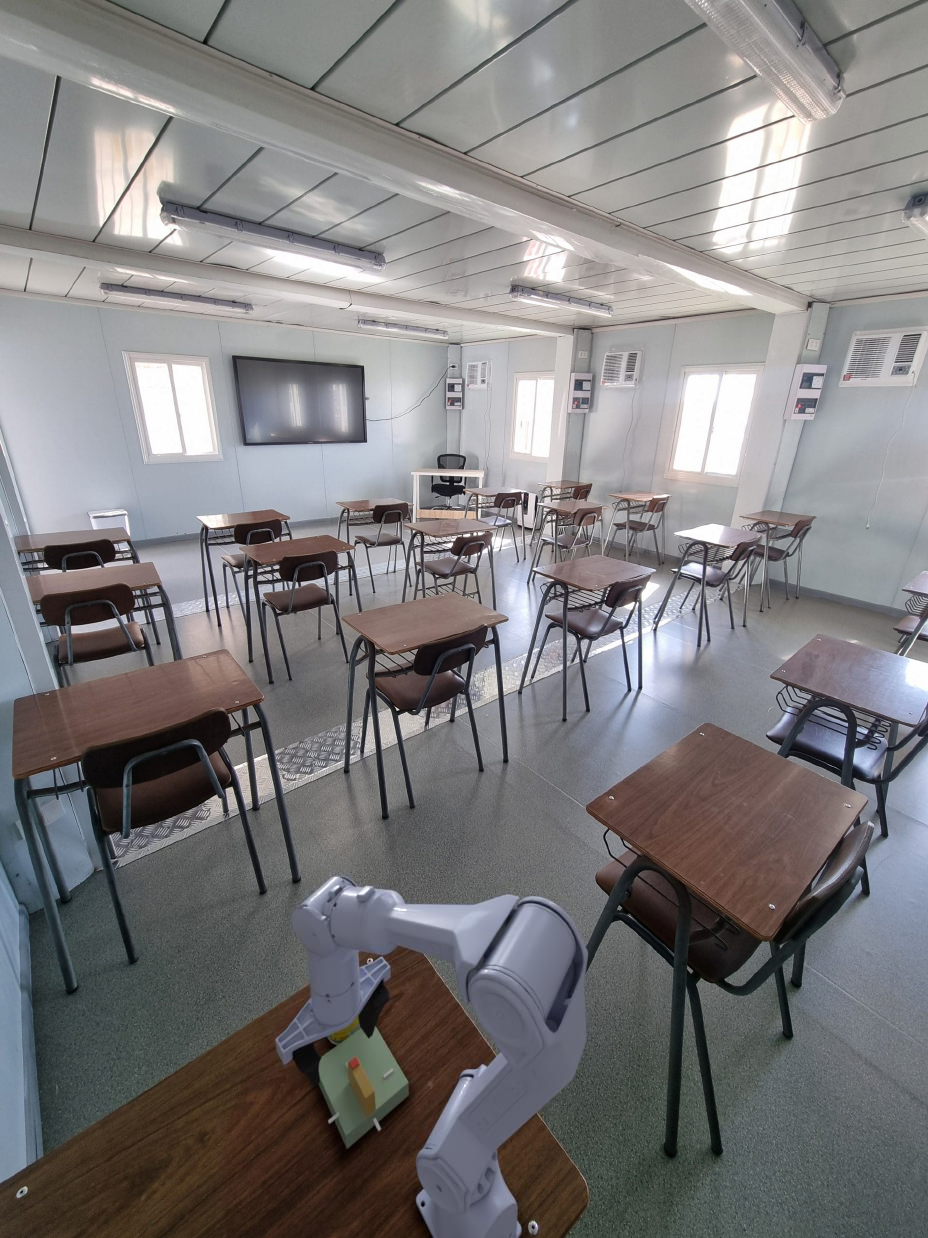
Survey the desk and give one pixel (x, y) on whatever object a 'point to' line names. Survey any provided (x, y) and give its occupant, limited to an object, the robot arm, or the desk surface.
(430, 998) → the desk surface
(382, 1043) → the lock plate
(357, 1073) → the block
